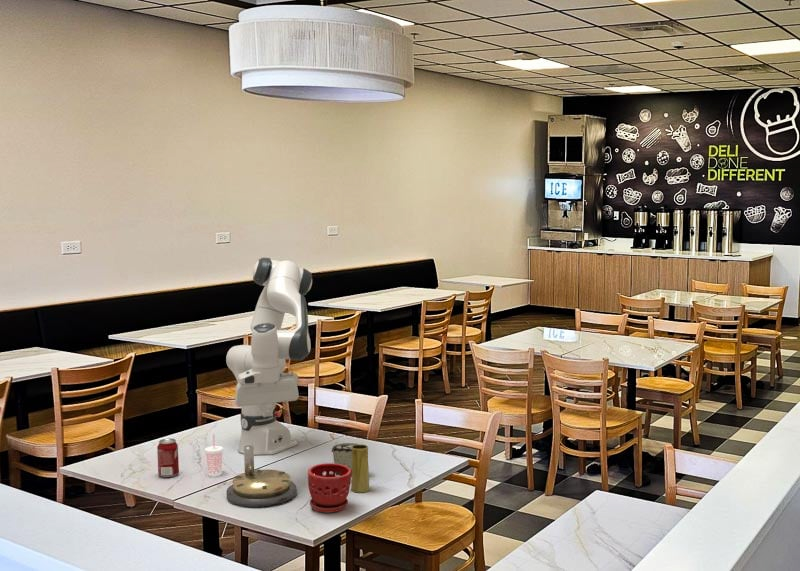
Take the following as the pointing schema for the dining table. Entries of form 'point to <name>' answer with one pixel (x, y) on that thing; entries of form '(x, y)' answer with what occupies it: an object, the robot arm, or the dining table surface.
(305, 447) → the dining table surface
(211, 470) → the beverage cup
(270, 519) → the dining table surface
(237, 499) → the grey round ring
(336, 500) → the plant pot
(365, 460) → the vase
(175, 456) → the soda can
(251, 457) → the tan disc with rod
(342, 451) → the food container
